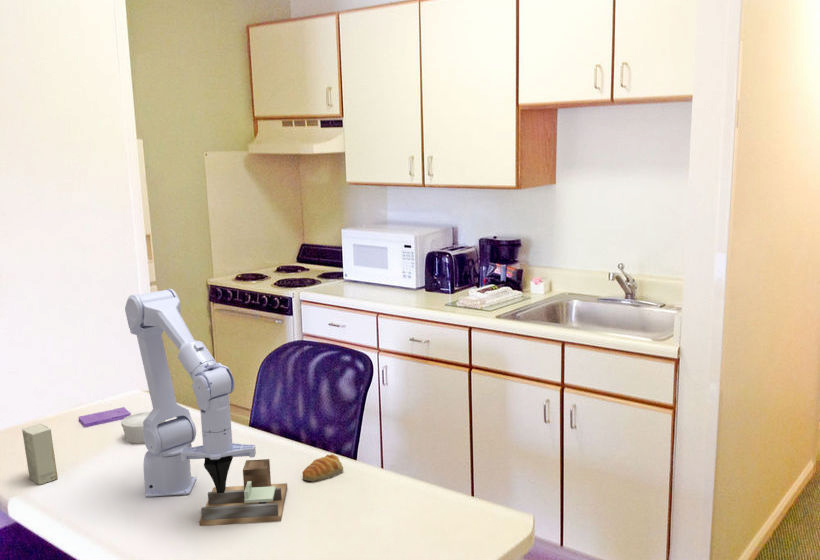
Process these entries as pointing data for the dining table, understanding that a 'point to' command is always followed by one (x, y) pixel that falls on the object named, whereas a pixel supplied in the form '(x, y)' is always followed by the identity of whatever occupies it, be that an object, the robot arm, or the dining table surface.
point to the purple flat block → (104, 417)
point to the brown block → (257, 473)
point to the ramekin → (135, 427)
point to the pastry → (323, 468)
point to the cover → (258, 493)
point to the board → (241, 507)
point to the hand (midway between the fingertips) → (221, 491)
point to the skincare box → (40, 454)
